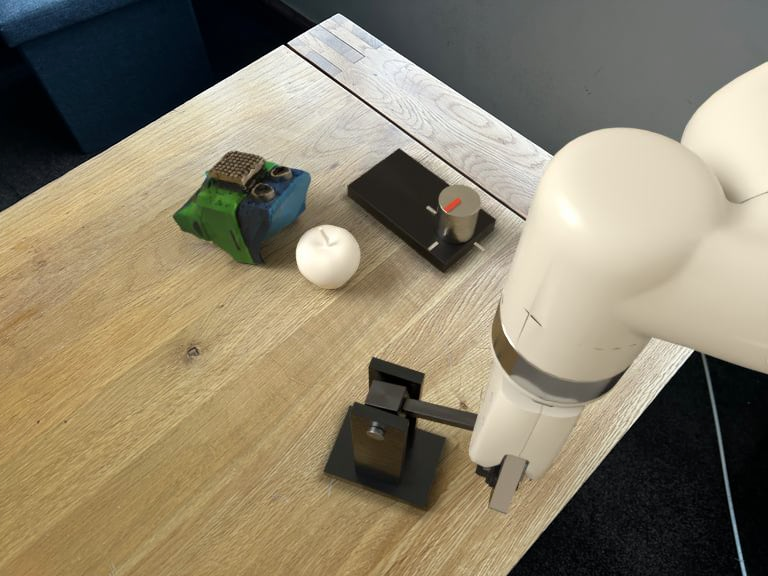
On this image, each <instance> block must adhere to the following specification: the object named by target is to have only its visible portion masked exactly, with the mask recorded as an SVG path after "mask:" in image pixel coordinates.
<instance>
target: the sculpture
mask: <svg viewBox="0 0 768 576" xmlns="http://www.w3.org/2000/svg"><path fill="white" fill-rule="evenodd" d="M204 174H205V176H206V177H205V178H204V181H203V182H202V184H201V186H200V187H199V188H198V189H197V190H196V191H195V192H194V193H193V194H192V196H190V198H188V200H187V201H186V202H185V203H184V204H183V205H182V206H181V207H180V208H179V209H177V210H176V211H175V213H174V214H173V215H172V219H173V220H174V222H175V223H176V225H177V226H178V227H179V229H180V231H181V232H184V233H187V234H191V235H192V236H194V237H196V238H197V239H199V240H201V241H202V242H203V243H209V244H211V245H213V246H217V247H218V248H220V249H221V250H222V251H224V252H225V253H227V254H228V255H230V257H232V259H233V261H234V262H236V263H246V264H252V265H260V266H261V265H263V266H267V265H268V264H267V263H266V261H265V259H264V257H263V256H262V254H261V252H260V250H261V248H262V246H263V244H264V243H265V242H266V241H268V239H270V238H272V237H273V236H274V235H277V234H278V233H279V232H281V231H282V230H284V229H285V228H286V227H288V226H289V225H291V224H293V222H295V221H297V220H298V219H299V218H300V216H301V215H302V214H303V213H304V212H305V211H306V210H307V204H306V201H307V200H306V198H307V194H308V191H309V188H310V184H311V181H312V176H311V174H310V173H309V172H308V171H306V170H303V169H299V168H295V167H289V166H286V165H280V164H278V163H276V162H274V161H268V160H266V159H265V157H264V156H260V155H259V154H255V153H248V152H245V151H244V152H243V151H238V150H234V151H233V150H229V151H228V152H226V153H225V154H224V155H222V157H221V158H220V159H219V160H218V161H217V162H216V163H215V164H214V165H213V166H212V167H211V168H210V169H208V170H206V171H205V172H204Z"/></svg>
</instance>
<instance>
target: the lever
mask: <svg viewBox="0 0 768 576" xmlns="http://www.w3.org/2000/svg"><path fill="white" fill-rule="evenodd" d="M363 404H364V405H367V406H370V407H373V408H376V409H379V410H382V411H385V412H388V413H391V414H394V415H397V416H400V417H403V418H405V416H406V415H408V416H412V417H416V418H419V419H421V420H425V421H428V422H432V423H437V424H442V425H445V426H449V427H453V428H458V429H461V430H465V431H470V432H473V430H474V427H475V423H476V419H477V416H478V413H475V412H470V411H466V410H462V409H458V408H454V407H451V406H446V405H440V404H437V403H433V402H428V401H424V400H421V401H420V400H416V399H411V398H410V396H409V394H408V391H407V388H406V387H405V386H401V385H397V384H392V383H388V382H383V381H379V380H375V379H373V382H372V384H371V387H370V389H369V388H368V392H367V394H366V397H365V399H364V402H363Z"/></svg>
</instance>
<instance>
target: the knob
mask: <svg viewBox="0 0 768 576" xmlns="http://www.w3.org/2000/svg"><path fill="white" fill-rule="evenodd" d="M481 202H482V201H481V197H480V195H479V193H478V192H477V191H476V190H475V189H473V188H472V187H470V186H468V185H465V184H452V185H450V186H449V187H447V188H445V189H444V190H443V191H442V192H441V193H440V195H439V200H438V208H437V216H436V224H435V230H436V233H437V235H438V236H439V237H440V238H441V239H442V240H443V241H445V242H447V243H451V244H462V243H465V242H467V241H469V240H470V239H471V238H472V237H473V235H474V233H475V228H476V223H477V219H478V214H479V209H480V207H481Z"/></svg>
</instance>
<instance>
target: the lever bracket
mask: <svg viewBox="0 0 768 576" xmlns="http://www.w3.org/2000/svg"><path fill="white" fill-rule="evenodd" d="M367 372H368V373H367V374H368V375H367V376H368V390H369V389H370V387H371V384H372V382H373V379H375V380H379V381H383V382H388V383H392V384H397V385H401V386H405V387H406V388H407V391H408V394H409V396H410V398H411V399H416V400H420V401H422V399H423V392H424V385H425V379H426V373H424V372H422V371H419V370H416V369H412V368H410V367H406V366H403V365H400V364H397V363H394V362H391V361H388V360H385V359H381V358H378V357H375V356H372V357H371V358H370V361H369V363H368V366H367ZM419 419H420V418H416V417H412V416H408V415H406V416H405V418H403V417H400V416H397V415H394V414H391V413H388V412H385V411H382V410H379V409H376V408H373V407H370V406H367V405H365V404H364V403H361V402H358V401H353V404H352V405H349V407H348V408H347V412H346V413H345V416H344V419H343V421H342V424H341V426H340V428H339V431H338V434H337V436H336V439H335V441H334V443H333V446H332V449H331V451H330V453H329V456H328V459H327V461H326V463H325V466H324V468H323V470H322V472H323V475H324V476H325V477H328V478H331V479H334V480H337V481H339V482H342V483H346V484H348V485H351V486H353V487H357V488H359V489H361V490H365V491H368V492H370V493H373V494H376V495H379V496H381V497H383V498H384V497H385V498H387V499H389V500H393V501H396V502H398V503H400V504H404V505H407V506H409V507H412V508H414V509H418V510H421V511H425V510H426V506H427V503H428V500H429V496H430V493H431V491H432V487H433V483H434V480H435V478H436V474H437V471H438V469H439V464H440V461H441V458H442V455H443V451H444V448H445V446H446V442H447V437H446V436H442V435H439V434H436V433H433V432H430V431H427V430H425V429H422V428H418V426H419Z"/></svg>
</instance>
